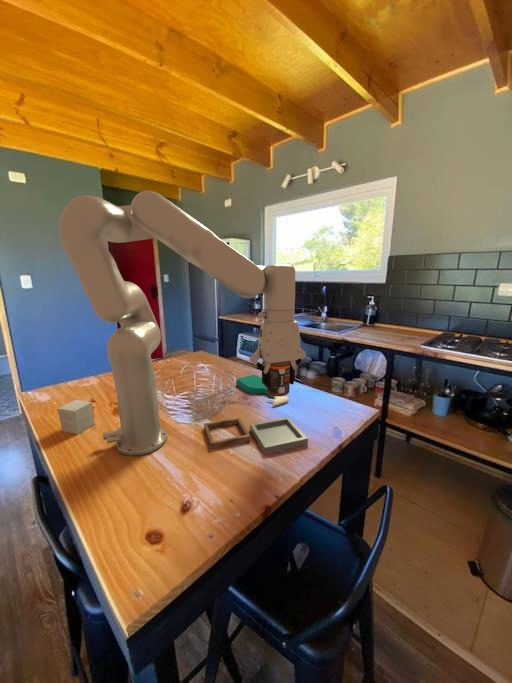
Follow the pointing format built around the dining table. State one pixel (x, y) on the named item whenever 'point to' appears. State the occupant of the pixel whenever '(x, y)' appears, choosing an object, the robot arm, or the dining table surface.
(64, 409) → the product box
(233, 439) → the holder
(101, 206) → the robot arm
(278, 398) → the spray bottle
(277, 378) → the supplement bottle
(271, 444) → the tray
